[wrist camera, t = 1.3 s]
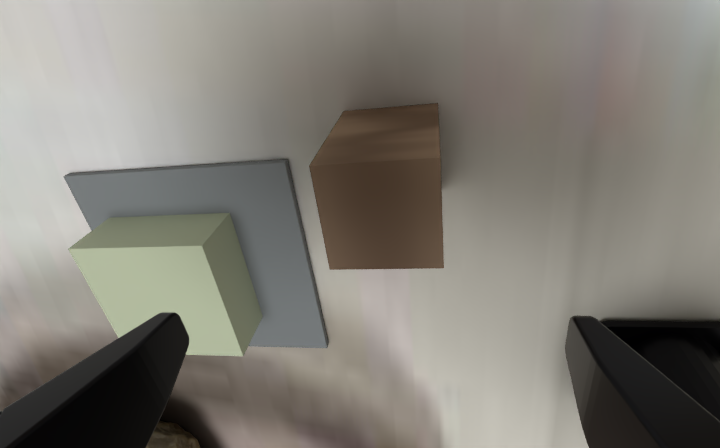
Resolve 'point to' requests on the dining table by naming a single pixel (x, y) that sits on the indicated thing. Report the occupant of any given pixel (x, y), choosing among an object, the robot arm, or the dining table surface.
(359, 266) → the walnut block
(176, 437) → the stone
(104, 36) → the dining table surface
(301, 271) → the build mat
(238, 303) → the base block
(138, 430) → the robot arm
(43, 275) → the dining table surface
